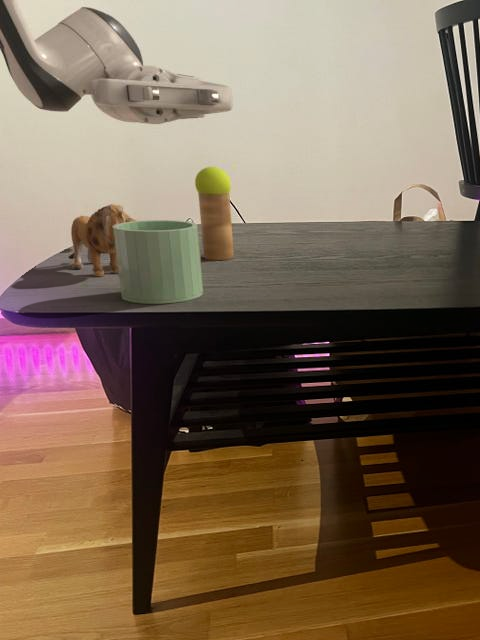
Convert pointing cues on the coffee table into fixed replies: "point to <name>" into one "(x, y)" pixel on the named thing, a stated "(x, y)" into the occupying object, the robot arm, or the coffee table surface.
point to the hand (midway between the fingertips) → (186, 95)
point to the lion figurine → (97, 236)
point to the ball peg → (215, 213)
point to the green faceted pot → (158, 261)
